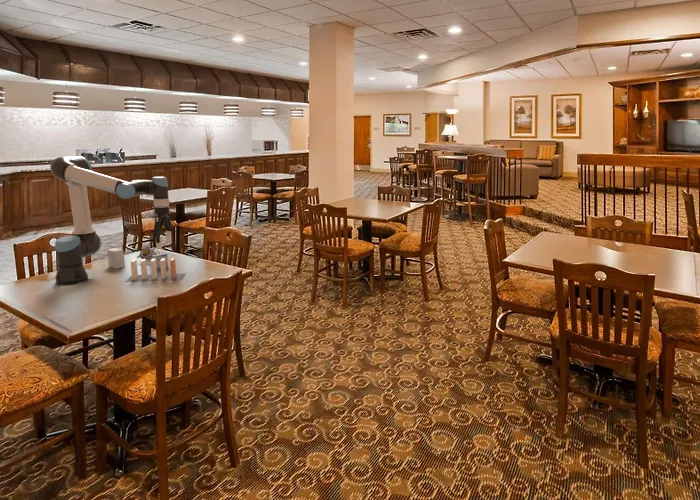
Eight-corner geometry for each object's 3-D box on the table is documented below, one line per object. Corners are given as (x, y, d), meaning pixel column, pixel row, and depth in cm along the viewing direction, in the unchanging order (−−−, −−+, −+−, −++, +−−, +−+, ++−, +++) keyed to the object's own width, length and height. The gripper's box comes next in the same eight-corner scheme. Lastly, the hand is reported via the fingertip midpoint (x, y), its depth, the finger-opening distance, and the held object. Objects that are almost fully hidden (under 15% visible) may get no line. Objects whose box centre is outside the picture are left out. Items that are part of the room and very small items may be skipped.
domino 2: (142, 279, 271) (140, 261, 268) (144, 276, 276) (142, 259, 273) (145, 279, 271) (143, 261, 269) (147, 276, 276) (146, 258, 274)
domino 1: (132, 279, 270) (130, 261, 268) (134, 277, 275) (132, 259, 272) (135, 279, 270) (134, 261, 268) (138, 277, 275) (136, 259, 273)
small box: (125, 266, 297) (123, 249, 295) (116, 269, 293) (114, 251, 290) (117, 264, 301) (115, 247, 299) (108, 267, 297) (106, 249, 294)
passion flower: (147, 271, 307) (133, 257, 303) (151, 263, 317) (137, 249, 312) (161, 261, 306) (147, 247, 301) (165, 254, 316) (151, 239, 311)
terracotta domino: (171, 278, 273) (169, 260, 271) (172, 275, 278) (171, 258, 276) (174, 278, 273) (173, 260, 271) (176, 275, 278) (175, 258, 276)
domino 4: (161, 278, 272) (160, 260, 270) (163, 276, 277) (161, 258, 275) (165, 278, 272) (163, 260, 270) (166, 276, 277) (165, 258, 275)
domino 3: (151, 279, 271) (150, 261, 269) (153, 276, 276) (152, 258, 274) (155, 278, 272) (153, 260, 269) (157, 276, 277) (155, 258, 274)
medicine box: (156, 271, 289) (155, 256, 287) (152, 269, 291) (150, 255, 289) (168, 268, 295) (167, 253, 293) (164, 267, 298) (163, 252, 296)
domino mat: (125, 282, 266) (125, 282, 266) (131, 276, 278) (131, 275, 278) (182, 280, 270) (182, 280, 270) (186, 274, 283) (186, 273, 283)
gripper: (159, 210, 254) (162, 251, 259) (177, 203, 278) (179, 240, 283) (144, 209, 254) (147, 250, 259) (163, 202, 278) (166, 240, 283)
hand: (164, 245), depth 271 cm, fingers open, 13 cm apart
